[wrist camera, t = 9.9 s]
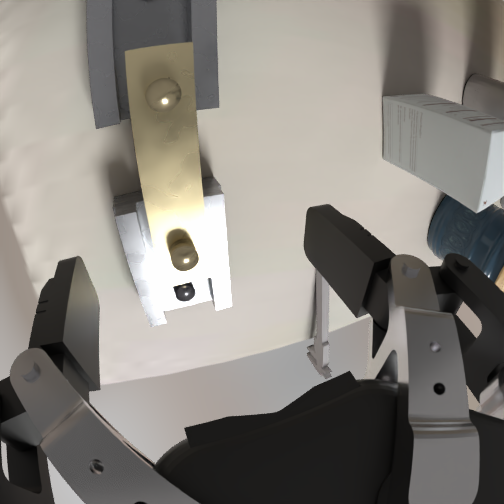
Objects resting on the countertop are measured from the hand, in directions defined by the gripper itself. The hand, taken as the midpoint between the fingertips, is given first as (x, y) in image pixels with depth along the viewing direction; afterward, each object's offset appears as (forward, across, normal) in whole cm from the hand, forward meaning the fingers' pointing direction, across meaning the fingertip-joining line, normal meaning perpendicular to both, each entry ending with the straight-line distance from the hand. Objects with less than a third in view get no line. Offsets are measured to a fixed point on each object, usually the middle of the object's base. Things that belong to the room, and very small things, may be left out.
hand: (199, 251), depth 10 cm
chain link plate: (+11, 0, 0) cm, 11 cm away
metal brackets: (+13, 0, 0) cm, 13 cm away
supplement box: (+14, -25, -1) cm, 28 cm away
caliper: (+14, -16, +24) cm, 32 cm away
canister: (+14, -42, +14) cm, 46 cm away
